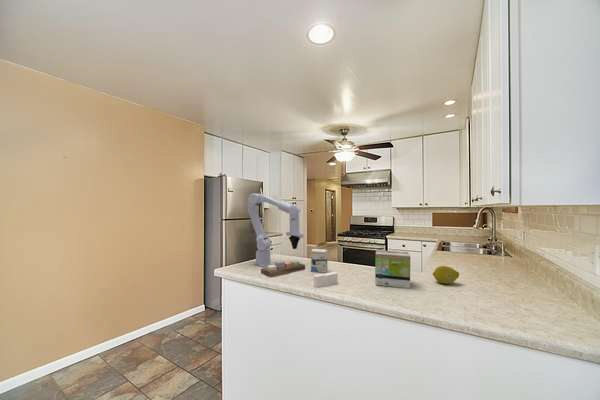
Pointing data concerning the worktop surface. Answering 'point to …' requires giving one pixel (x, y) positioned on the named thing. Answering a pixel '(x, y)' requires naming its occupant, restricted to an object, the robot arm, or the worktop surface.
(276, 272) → the brown wooden long tray
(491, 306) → the worktop surface
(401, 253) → the tea box
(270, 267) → the white key
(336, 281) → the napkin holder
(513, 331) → the worktop surface
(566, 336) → the worktop surface
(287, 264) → the terracotta key
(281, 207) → the robot arm
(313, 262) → the ink box
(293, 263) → the pale green block
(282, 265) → the grey key
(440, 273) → the lemon
